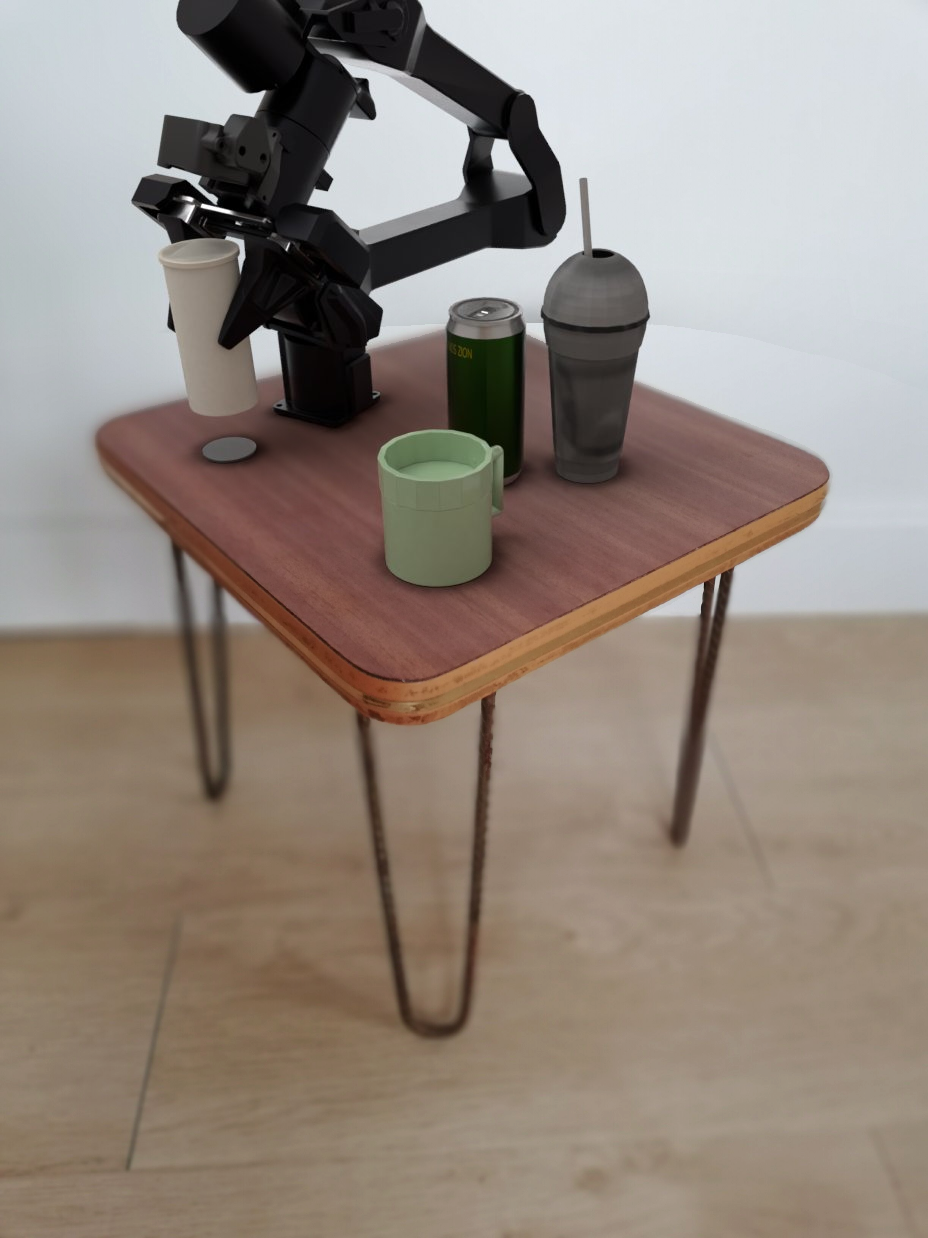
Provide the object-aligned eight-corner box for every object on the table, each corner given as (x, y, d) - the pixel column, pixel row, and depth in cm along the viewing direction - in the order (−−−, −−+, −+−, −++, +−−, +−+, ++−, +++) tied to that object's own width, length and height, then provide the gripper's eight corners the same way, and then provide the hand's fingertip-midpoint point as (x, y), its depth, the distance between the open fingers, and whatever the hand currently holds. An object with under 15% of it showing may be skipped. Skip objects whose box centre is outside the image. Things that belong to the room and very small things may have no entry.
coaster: (191, 455, 82) (191, 453, 81) (226, 435, 84) (226, 432, 84) (233, 467, 80) (232, 464, 80) (267, 446, 83) (266, 443, 83)
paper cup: (195, 387, 82) (167, 239, 75) (266, 385, 82) (245, 236, 75) (179, 419, 77) (149, 264, 71) (255, 417, 77) (231, 261, 71)
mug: (428, 600, 65) (424, 492, 61) (364, 554, 70) (356, 451, 65) (536, 550, 70) (538, 447, 65) (468, 511, 74) (467, 411, 70)
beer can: (496, 497, 75) (496, 329, 69) (434, 477, 78) (428, 313, 71) (537, 467, 79) (542, 305, 72) (477, 449, 82) (475, 290, 75)
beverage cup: (633, 496, 75) (658, 195, 64) (529, 487, 77) (535, 191, 65) (640, 450, 81) (664, 166, 70) (543, 442, 82) (551, 163, 71)
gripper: (124, 48, 74) (26, 254, 73) (322, 71, 64) (211, 309, 64) (229, 147, 83) (143, 331, 83) (415, 181, 74) (319, 388, 73)
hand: (197, 338), depth 75 cm, fingers closed on paper cup, 5 cm apart
